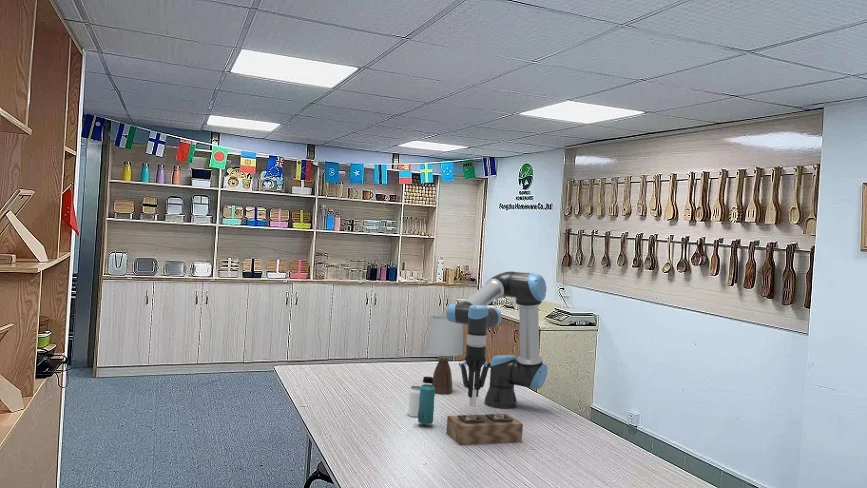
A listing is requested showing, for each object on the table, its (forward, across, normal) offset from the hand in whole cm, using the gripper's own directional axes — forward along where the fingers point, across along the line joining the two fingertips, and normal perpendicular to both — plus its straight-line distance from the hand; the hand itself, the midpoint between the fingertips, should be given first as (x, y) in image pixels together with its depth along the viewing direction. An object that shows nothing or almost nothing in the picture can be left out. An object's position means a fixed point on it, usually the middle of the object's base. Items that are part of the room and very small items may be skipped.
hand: (472, 405), depth 254 cm
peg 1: (+12, +1, 0) cm, 12 cm away
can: (+13, +12, -33) cm, 37 cm away
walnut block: (+13, -6, 0) cm, 14 cm away
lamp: (+14, -16, -72) cm, 75 cm away
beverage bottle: (+13, +12, -18) cm, 25 cm away
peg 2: (+12, -11, 0) cm, 17 cm away
